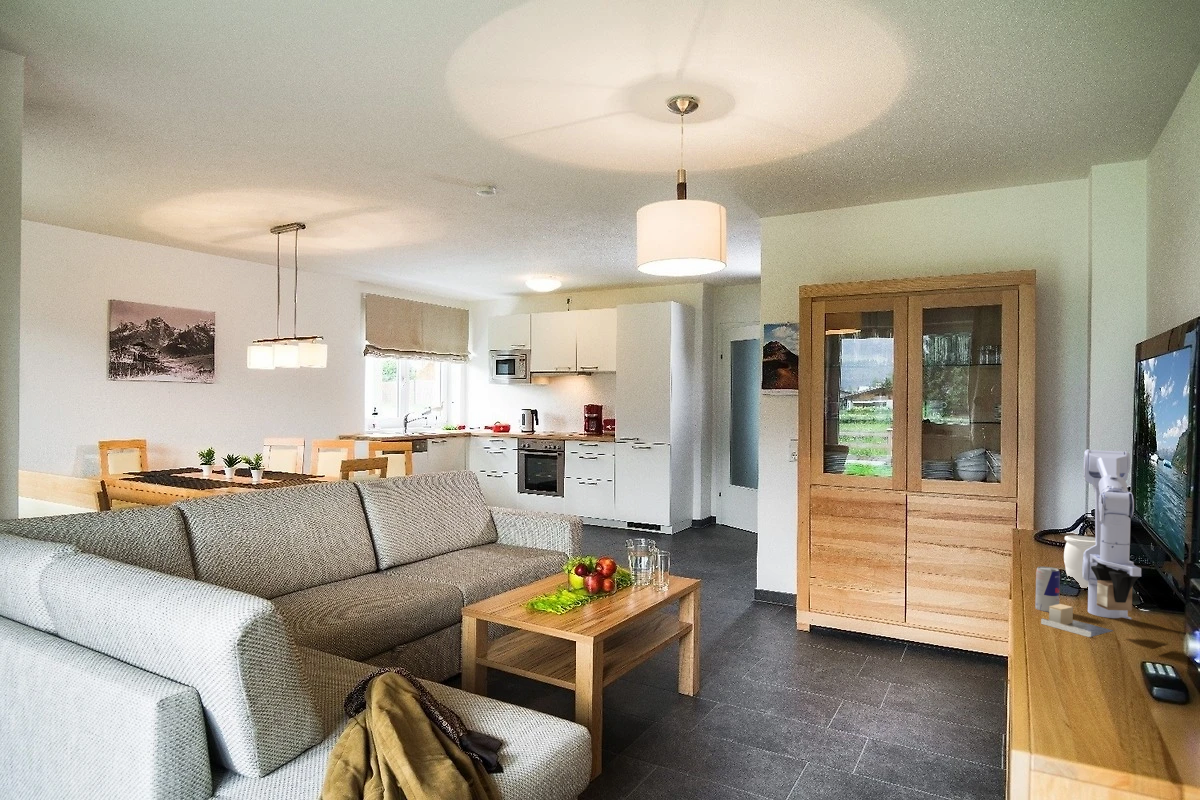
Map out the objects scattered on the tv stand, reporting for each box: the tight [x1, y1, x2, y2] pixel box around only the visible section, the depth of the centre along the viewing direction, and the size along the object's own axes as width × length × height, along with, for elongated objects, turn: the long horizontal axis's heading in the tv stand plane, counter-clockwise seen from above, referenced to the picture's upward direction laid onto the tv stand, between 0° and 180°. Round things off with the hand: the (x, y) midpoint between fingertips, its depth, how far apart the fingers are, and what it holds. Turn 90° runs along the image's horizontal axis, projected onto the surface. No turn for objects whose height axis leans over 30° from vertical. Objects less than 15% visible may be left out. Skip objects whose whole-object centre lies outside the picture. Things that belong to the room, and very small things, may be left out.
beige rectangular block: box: [1048, 603, 1074, 625], centre depth 179 cm, size 5×3×4 cm, turn 119°
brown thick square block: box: [1097, 580, 1134, 612], centre depth 171 cm, size 4×6×6 cm
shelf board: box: [1040, 618, 1114, 638], centre depth 175 cm, size 11×11×2 cm
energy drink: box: [1034, 566, 1061, 613], centre depth 190 cm, size 5×5×12 cm
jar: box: [1063, 535, 1095, 588], centre depth 219 cm, size 11×10×15 cm
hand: (1113, 599), depth 171 cm, fingers closed on brown thick square block, 4 cm apart
